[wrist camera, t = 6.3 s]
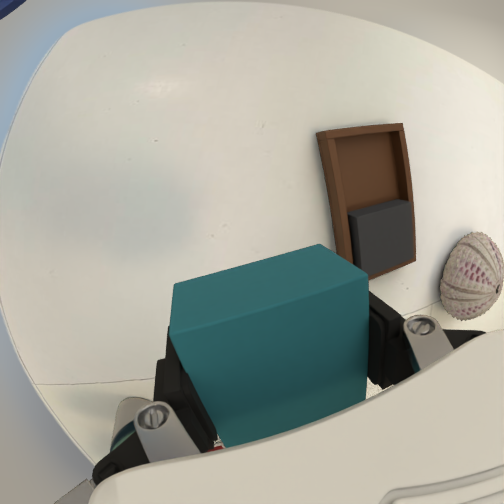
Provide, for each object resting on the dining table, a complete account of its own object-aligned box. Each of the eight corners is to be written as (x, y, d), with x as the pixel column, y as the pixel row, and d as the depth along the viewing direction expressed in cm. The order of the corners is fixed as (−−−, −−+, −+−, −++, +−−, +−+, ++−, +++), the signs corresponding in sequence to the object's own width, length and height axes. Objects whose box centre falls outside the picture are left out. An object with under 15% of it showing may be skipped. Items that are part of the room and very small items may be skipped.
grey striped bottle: (169, 418, 31) (178, 558, 12) (135, 428, 31) (131, 557, 12) (144, 391, 29) (137, 546, 10) (109, 402, 29) (88, 542, 10)
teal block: (172, 283, 11) (167, 334, 7) (319, 242, 11) (369, 273, 8) (215, 391, 13) (225, 449, 9) (331, 355, 13) (366, 401, 10)
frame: (315, 132, 25) (324, 130, 23) (391, 124, 26) (402, 122, 24) (339, 281, 30) (348, 288, 28) (405, 255, 31) (416, 260, 29)
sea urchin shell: (421, 277, 33) (464, 301, 25) (470, 208, 32) (512, 220, 24) (445, 325, 37) (477, 348, 30) (487, 265, 37) (521, 280, 29)
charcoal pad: (343, 213, 27) (356, 217, 25) (397, 198, 28) (411, 201, 26) (350, 271, 29) (362, 279, 27) (400, 252, 30) (413, 258, 28)
